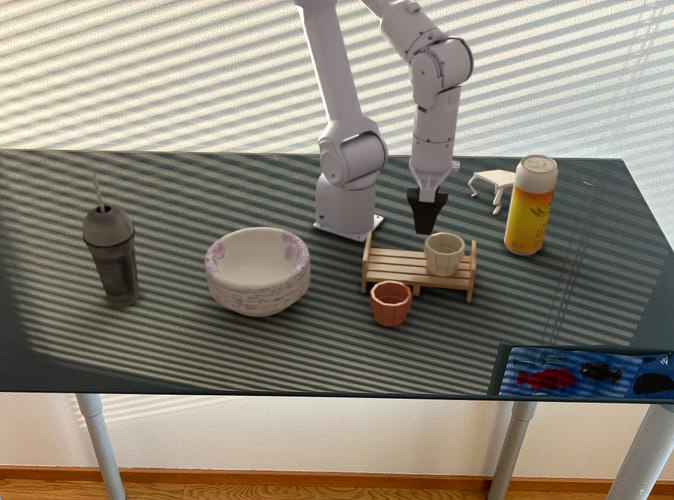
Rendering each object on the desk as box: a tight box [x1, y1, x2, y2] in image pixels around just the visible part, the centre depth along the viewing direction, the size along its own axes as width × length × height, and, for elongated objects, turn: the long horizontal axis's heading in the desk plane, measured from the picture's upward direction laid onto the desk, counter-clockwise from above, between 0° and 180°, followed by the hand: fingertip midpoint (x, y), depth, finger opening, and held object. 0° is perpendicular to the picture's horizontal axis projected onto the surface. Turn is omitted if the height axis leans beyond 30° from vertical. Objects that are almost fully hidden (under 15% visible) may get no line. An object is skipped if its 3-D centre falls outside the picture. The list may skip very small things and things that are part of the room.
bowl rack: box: [360, 232, 477, 303], centre depth 115 cm, size 8×16×6 cm, turn 81°
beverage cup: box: [82, 174, 140, 308], centre depth 108 cm, size 7×7×20 cm
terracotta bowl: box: [369, 281, 413, 328], centre depth 110 cm, size 6×6×4 cm
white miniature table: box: [467, 169, 516, 215], centre depth 132 cm, size 12×8×5 cm
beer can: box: [503, 154, 559, 256], centre depth 119 cm, size 6×6×15 cm
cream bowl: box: [423, 231, 466, 277], centre depth 113 cm, size 6×6×4 cm
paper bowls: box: [203, 226, 311, 318], centre depth 112 cm, size 15×15×8 cm
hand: (425, 218), depth 113 cm, fingers open, 7 cm apart
